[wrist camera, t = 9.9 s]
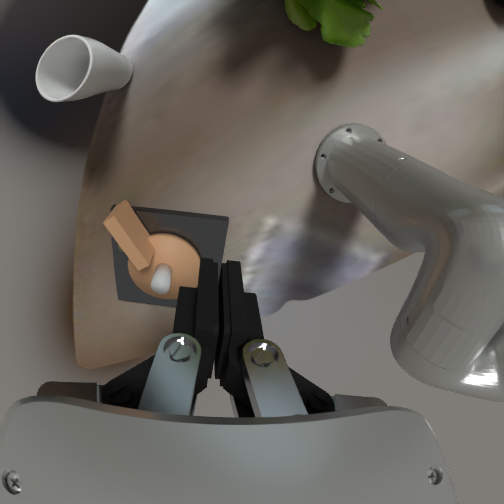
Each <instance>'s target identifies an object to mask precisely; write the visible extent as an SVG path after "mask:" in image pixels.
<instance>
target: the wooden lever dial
mask: <svg viewBox="0 0 504 504" xmlns="http://www.w3.org/2000/svg"><path fill="white" fill-rule="evenodd" d="M103 223H104V225H105V226H106V228H107V229H108V230H109V232H110V233H111V235H112V236H113V237H114V239H115V240H116V242H117V243H118V244H119V246H120V247H121V248H122V250H123V251H124V252H125V254H126V255H127V256H128V258H129V259H128V270H129V274H130V276H131V278H132V280H133V281H134V283H135V284H136V285H137V286H138V287H139V288H140V289H141V290H142V291H144V292H145V293H147V294H149V295H151V296H153V297H157V298H161V299H177V298H178V293H179V287H180V286H184V287H193V288H196V287H197V286H198V277H199V267H200V256H199V254H198V252H197V251H196V249H195V248H194V247H193V246H192V245H191V244H190V243H189V242H187V241H186V240H184V239H183V238H181V237H178V236H176V235H172V234H167V233H156V234H151V235H149V233H148V232H147V230H146V229H145V227H144V226H143V224H142V223H141V221H140V220H139V218H138V217H137V215H136V214H135V212H134V211H133V209H132V208H131V206H130V205H129V203H128V202H127V200H125V201H123V202H121V203H120V204H118V205H116V206H115V208H114V209H113V210H112V212H111V213H110V214H109V215H108V217H107V218H106V219H105V221H104V222H103Z"/></svg>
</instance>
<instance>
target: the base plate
mask: <svg viewBox="0 0 504 504" xmlns="http://www.w3.org/2000/svg"><path fill="white" fill-rule="evenodd" d="M115 206H116V205H113V206H112V207H111V212H112V210H113V209H114V208H115ZM131 208H132V209H133V211H134V212H135V214H136V215H137V217H138V218H139V220H140V221H141V223H142V224H143V226H144V227H145V229H146V230H147V232H148V233H149V235H151V234H156V233H167V234H172V235H176V236H178V237H181V238H183V239H184V240H186V241H187V242H189V243H190V244H191V245H192V246H193V247H194V248H195V249H196V251H197V252H198V254H199V256H200V258H201V257H202V258H211V259H213V262H216V263H218V283H219V276H220V270H221V264H222V258H223V252H224V246H225V240H226V234H227V228H228V223H229V218H228V217H225V216H217V215H208V214H200V213H191V212H182V211H173V210H164V209H154V208H144V207H134V206H131ZM112 246H113V258H114V268H115V278H116V286H117V294H118V300H125V301H132V302H139V303H147V304H155V305H163V306H172V307H176V306H177V299H178V298H177V299H161V298H157V297H153V296H151V295H149V294H147V293H145V292H144V291H142V290H141V289H140V288H139V287H138V286H137V285H136V284H135V283H134V281H133V280H132V278H131V276H130V274H129V270H128V259H129V258H128V256H127V255H126V254H125V252H124V251H123V250H122V248H121V247H120V246H119V244H118V243H117V242H116V240H115V239H114V237H113V236H112ZM196 288H197V287H196Z"/></svg>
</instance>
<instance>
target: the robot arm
mask: <svg viewBox="0 0 504 504" xmlns="http://www.w3.org/2000/svg"><path fill="white" fill-rule="evenodd" d="M347 128H348V131H346V129H347ZM377 140H378V141H377ZM322 154H323V156H322V157H321V155H322ZM315 169H316V175H317V179H318V181H319V183H320V185H321V186H322V188H323V189H324V190H325V192H326V193H327V194H328V195H329V196H331V197H332V198H334V199H335V200H338V201H340V202H343V203H352V204H353V205H354V206H355V207H356V208H357V209H358V210H359V211H360V212H361V213H362V214H363V215H364V216H365V217H366V218H367V219H368V220H369V221H370V222H371V223H372V224H373V225H374V226H375V227H376V228H377V229H378V230H379V231H380V232H381V233H382V234H383V235H384V236H385V237H386V238H387V240H388V241H390V242H391V243H392V244H393V245H394V246H396V247H397V248H399V249H401V250H404V251H408V252H425V255H424V259H423V262H422V265H421V267H420V269H419V271H418V275H417V277H416V280H415V282H414V284H413V286H412V288H411V290H410V292H409V294H408V296H407V298H406V300H405V302H404V304H403V306H402V308H401V310H400V313H399V314H398V316H397V318H396V321H395V323H394V325H393V328H392V332H391V338H390V344H391V350H392V353H393V356H394V358H395V360H396V361H397V363H398V364H399V365H400V367H401V368H402V369H403V370H404V371H405V372H406V373H408V374H409V375H410V376H412V377H413V378H415V379H416V380H418V381H420V382H422V383H425V384H427V385H430V386H433V387H436V388H440V389H443V390H447V391H451V392H455V393H459V394H463V395H467V396H472V397H477V398H481V399H486V400H490V401H497V402H504V198H502V197H500V196H498V195H495V194H493V193H490V192H488V191H485V190H483V189H480V188H478V187H475V186H472V185H470V184H468V183H465V182H463V181H460V180H458V179H456V178H454V177H452V176H450V175H448V174H446V173H444V172H442V171H440V170H438V169H436V168H434V167H432V166H430V165H428V164H426V163H424V162H422V161H420V160H418V159H416V158H414V157H412V156H410V155H408V154H406V153H404V152H401V151H399V150H397V149H395V148H393V147H390V146H388V145H387V144H386V142H385V140H384V139H383V137H382V136H381V135H380V134H379V133H378V132H377V131H375V130H374V129H372V128H370V127H368V126H365V125H362V124H346V125H343V126H340V127H338V128H336V129H334V130H333V131H332V132H330V133H329V134H328V135H327V136H326V137H325V139H324V140H323V141H322V143H321V145H320V147H319V148H318V152H317V155H316V161H315ZM330 188H331V190H329V189H330ZM213 363H215V379H220V386H223V388H224V389H225V390H226V391H227V392H228V393H229V394H230V400H231V404H232V408H233V412H234V416H235V418H230V417H228V418H227V417H226V418H225V417H203V416H193V415H194V409H195V404H196V398H197V394H198V393H200V392H201V391H202V390H204V389H205V388H206V387H207V380H208V378H211V375H212V370H213ZM0 504H459V503H458V499H457V495H456V491H455V488H454V484H453V481H452V478H451V475H450V471H449V468H448V466H447V463H446V460H445V457H444V454H443V452H442V450H441V447H440V445H439V442H438V440H437V438H436V436H435V434H434V432H433V430H432V428H431V427H430V425H429V423H428V422H427V421H426V419H425V418H424V417H423V416H422V415H421V414H420V413H418V412H416V411H413V410H411V409H408V408H403V407H396V406H387V405H386V403H385V402H384V401H382V400H381V399H379V398H374V397H361V396H349V395H339V394H336V395H335V396H330V395H329V394H328V393H326V391H324V390H322V389H321V388H319V387H318V386H316V385H315V384H313V383H312V382H310V381H309V380H307V379H305V378H304V377H303V376H301V375H300V374H298V373H297V372H295V371H294V370H292V369H291V368H289V367H288V365H287V363H286V360H285V358H284V355H283V353H282V351H281V349H280V348H279V347H278V346H277V345H276V344H274V343H273V342H271V341H269V340H265V339H264V336H263V330H262V324H261V319H260V313H259V308H258V302H257V296H256V294H255V293H246V292H244V289H243V281H242V273H241V264H240V262H239V261H229V260H227V262H226V263H222V264H221V270H220V276H219V283H218V263H216V262H213V259H211V258H202V257H201V258H200V267H199V277H198V286H197V288H193V287H184V286H180V287H179V293H178V299H177V306H176V313H175V320H174V328H173V334H170V335H168V336H166V337H165V338H163V339H162V341H161V342H160V344H159V347H158V350H157V352H156V354H155V355H154V356H152V357H150V358H149V359H147V360H145V361H143V362H142V363H140V364H138V365H137V366H135V367H133V368H131V369H130V370H128V371H126V372H125V373H123V374H121V375H119V376H118V377H116V378H114V379H112V380H111V381H109V382H108V383H107V384H105V385H98V384H97V382H94V383H93V382H57V381H56V382H55V381H51V382H46V383H44V384H42V385H41V386H40V388H39V389H38V392H37V395H36V396H29V397H25V398H22V399H20V400H17V401H16V402H14V404H13V405H11V407H10V408H9V409H8V411H7V413H6V414H5V417H4V419H3V421H2V423H1V426H0Z"/></svg>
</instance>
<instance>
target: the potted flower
mask: <svg viewBox="0 0 504 504" xmlns="http://www.w3.org/2000/svg"><path fill="white" fill-rule="evenodd" d="M366 1H367V2H368V3H370V4H372V5H374V4H375V5H377V6H378V7H379V8H381V9H382V10H384V8H383V7H381V6H380V5H378V4H377V3H376V1H374V0H366ZM284 3H285V11H286V14H287V16H288V19H289V20H291V21H292V23H293V24H296V25H297V26H298V27H299V28H301V29H302V30H306V31H310V30H312V29H313V28H316V27H317V21H318V22H319V23H321V34H322V39H323V40H324V41H326V42H328V43H330V44H336V45H340V46H344V47H352V48H355V47H358V45H363V44H364V42H365V39H364V38H363V37H369V36H370V30H369V29H370V28H371V26H370V24H369V22H368V21H373V20H374V18H375V16H374V15H373V14H372V13H369V12H367V11H366V10H364V9H362V8H365V7H366V5H365V3H364V2H363V1H362V0H284ZM373 3H374V4H373ZM361 7H362V8H361ZM366 20H368V21H366Z"/></svg>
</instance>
